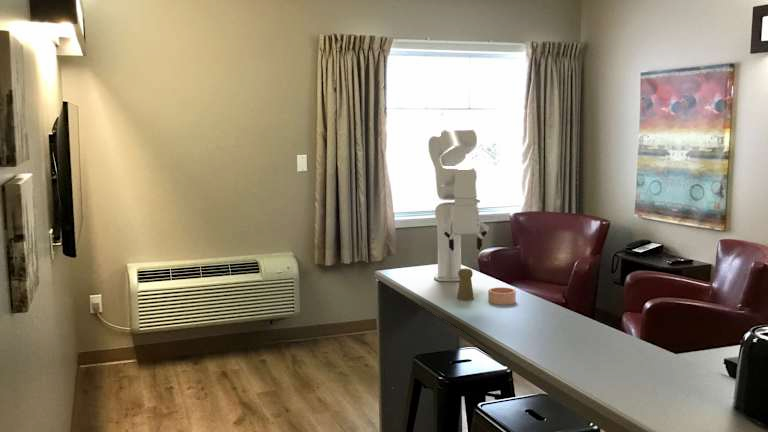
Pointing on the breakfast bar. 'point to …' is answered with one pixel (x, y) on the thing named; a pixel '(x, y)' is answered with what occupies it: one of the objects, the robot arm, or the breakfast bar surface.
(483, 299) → the breakfast bar surface
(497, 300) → the pink faceted round bowl
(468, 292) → the cork
